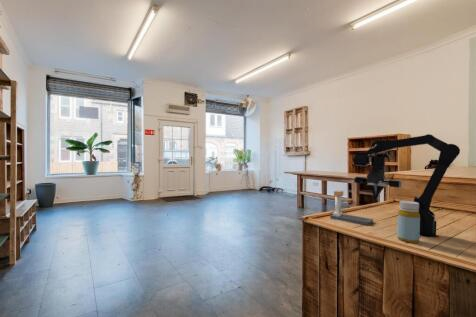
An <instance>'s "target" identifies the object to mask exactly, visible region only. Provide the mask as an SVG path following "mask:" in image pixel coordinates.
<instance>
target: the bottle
mask: <svg viewBox="0 0 476 317" xmlns="http://www.w3.org/2000/svg"><path fill="white" fill-rule="evenodd" d="M396 230H397V235H396V236H397V239H398V241H401V242H405V243H408V244H418V243H419V242H420V236H421V235H420V214H419V203H417V202H414V201H411V200H410V201H409V200H400V201H399V211H398V212H397V229H396Z"/></svg>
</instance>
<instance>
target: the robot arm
mask: <svg viewBox="0 0 476 317" xmlns="http://www.w3.org/2000/svg"><path fill="white" fill-rule="evenodd" d="M423 145H428V146H430V147H432V148H433V149H435V150H436V151H439V155H438V158H437V159H438V160H437V164H436V166H435V168H434V170H433V171H432V174H431V176H430V178H429V180H428V182H427V184H426V186H425V188H424V190H423V191H422V193H421V195H420V196H418V195H415V196H414V199H413V202H417V203H419V214H420V236H422V237H431V238H432V237H435V238H440V237H439V234H437V220H435V219H436V214H435V213H434V212H433V211H432V210H431V203H432V199H433V197H434V195H435V193H436V191H437V190H438V187H439V186H440V183H441V181H442V180H443V178H444V176H445V174H446V172H447V170H448V168H449V167H450V166H451V164H452V163H453V162H454V161H455V160H456V158H457V157H458V156H459V155H460V153H461V149H460V147H459V146H458V145H457V144H454V143H447V142H445V141H443V140H441V139H440V138H437V137H436V136H434V135H433V134H425V135H419V136H413V137H407V138H399V139H393V140H392V139H390V140H389V139H379V140H378V139H377V140H374V141H373V142H372V143H371V145H370V148H369V149H368V150H367V151H366V152H360V151H355V154H354V157H353V165H354V166H360V167H368V166H369V165H370V170H369V172H368V173H367V175H366V176H355V177H354V180H353V181H354V183H355V184H356V183H357V184H362V183H367V184H366V186H368V187H369V188H370V190H371V193H372V195H373V199H374V200H376V201H377V200H378V199H379V197H380V195H381V193H382V191H383V190H384V189H385V188H387V187H388V186H389V187H391V188H392V187H393V188H402V181H401V180H400V179H399V180H398V179H389V180H386V176H385V172H386V158H387V159H389V158H391V155H389V154H388V152H389V151H392V150H395V149H400V148H408V147H416V146H423Z"/></svg>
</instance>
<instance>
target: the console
mask: <svg viewBox="0 0 476 317" xmlns="http://www.w3.org/2000/svg"><path fill="white" fill-rule="evenodd" d="M329 218H330V219H331V220H337V221H343V222H347V223H353V224H356V225H358V224H359V225H363V226H370V225H371V224H373V223H374V218H369V217H363V216H358V215H357V216H356V215H352V214H346V213H343V215H342V216H337V215H333V213H332V214H330V216H329Z"/></svg>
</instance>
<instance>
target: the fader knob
mask: <svg viewBox="0 0 476 317" xmlns="http://www.w3.org/2000/svg"><path fill="white" fill-rule="evenodd" d="M343 196H344V190H334V191H333V197H335V199H334V200H335V201H334V202H335V203H334V204H335V205H334V212H332V214H333V215H337V216H342V215H343V214H344V212H342V201H343V198H342V197H343Z"/></svg>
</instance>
